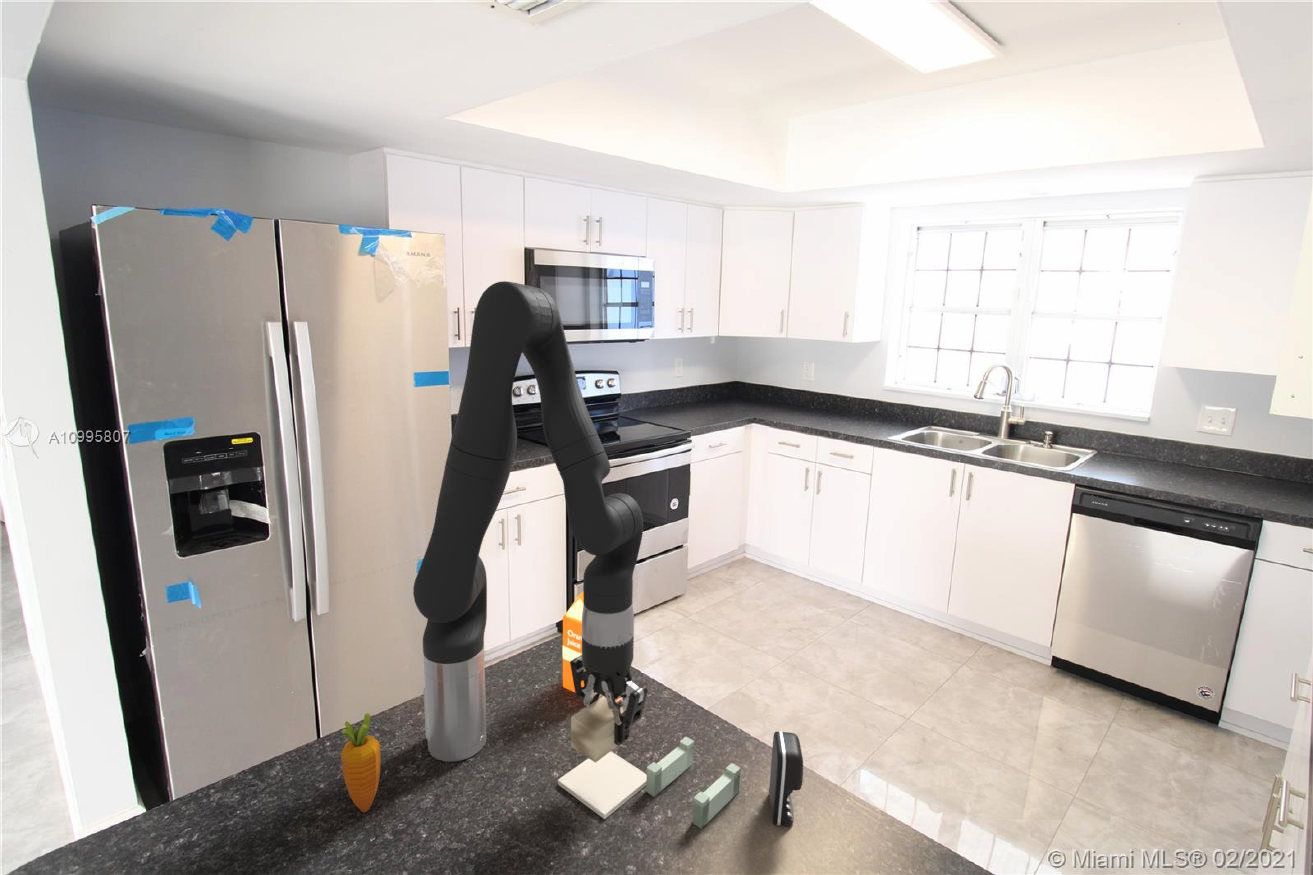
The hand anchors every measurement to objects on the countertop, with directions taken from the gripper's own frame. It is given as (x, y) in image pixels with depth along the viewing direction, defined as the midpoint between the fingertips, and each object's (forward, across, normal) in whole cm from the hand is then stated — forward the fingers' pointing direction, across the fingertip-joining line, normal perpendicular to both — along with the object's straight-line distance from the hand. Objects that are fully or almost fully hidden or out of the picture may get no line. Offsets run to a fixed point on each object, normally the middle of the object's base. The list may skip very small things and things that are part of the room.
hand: (607, 733), depth 100 cm
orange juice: (+9, +20, -17) cm, 27 cm away
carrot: (+8, +21, +27) cm, 36 cm away
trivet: (+8, 0, 0) cm, 8 cm away
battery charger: (+9, -23, -13) cm, 28 cm away
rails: (+9, -11, -7) cm, 16 cm away
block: (+1, 0, +2) cm, 2 cm away
